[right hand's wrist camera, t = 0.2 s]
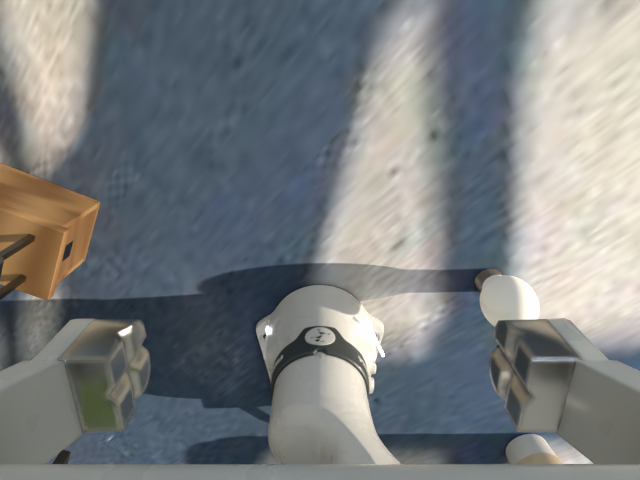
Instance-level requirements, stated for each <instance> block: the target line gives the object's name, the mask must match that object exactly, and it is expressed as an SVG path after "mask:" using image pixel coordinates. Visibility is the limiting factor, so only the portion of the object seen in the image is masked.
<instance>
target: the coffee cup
mask: <svg viewBox="0 0 640 480" xmlns="http://www.w3.org/2000/svg"><path fill="white" fill-rule="evenodd" d="M506 457H507V459H508V462H509V464H562V462H561V461H560V459H559V458H558V457H556V455H555V454H554V452H553V451H552V450H551V448H550V447H549V445H548V444H547V442H546V441H545V440H544V439H543V438H542V437H541V436H539V435H535V434H525V435H521V436H518V437H516V438H514V439H513V440H512V441H511V442H510V443H509V444H508V445H507V447H506Z"/></svg>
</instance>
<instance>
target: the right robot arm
mask: <svg viewBox="0 0 640 480" xmlns="http://www.w3.org/2000/svg"><path fill="white" fill-rule="evenodd" d="M256 333H257V337H258V340H259V344H260V347H261V350H262V354H263V357H264V361H265V364H266V368H267V371H268V374H269V378H270V384H271V397H272V406H271V413H270V420H269V428H268V442H269V447H270V450H271V452H272V455H273V457H274V458H275V460H276V462H277V463H278V464H46V463H47V462H48V461H50V460H51V459H52V458H53V457H55V456H56V455H57V454H59V453H60V452H61V451H62V450H64V449H65V448H66V447H67V446H69V445H70V444H71V443H72V442H74V441H75V440H76V439H77V438H79V437H80V436H81V435H82V433H83V432H118V431H124V429H125V427H126V425H127V423H128V421H129V419H130V418H131V416H132V414H133V412H134V410H135V403H134V400H135V399H136V398H138V397H139V396H141V395H142V394H143V393H144V391H145V389H146V387H147V385H148V382H149V377H150V373H151V360H150V354H149V352H148V351H147V350H146V349H145V348H144V347H143V346H142V345H141V344H142V342H143V341H144V339H145V338H146V331H145V327H144V323H143V322H142V321H141V320H136V319H95V318H91V319H73V320H70V321H69V322H68V323H67V324H66V325H65V326H64V327H63V328H62V329H61V330H60V331H59V332H58V333H57V334H56V335H55V336H54V337H53V338H52V339H51V340H50V341H49V342H48V343H47V344H46V346H45V347H44V348H43V349H42V350H41V351H40V352H39V353H38V354H37V355H36V356H35V357H34V358H33V359H32V360H28V361H21V362H19V363H17V364H15V365H13V366H10V367H8V368H6V369H4V370H2V371H0V480H640V371H638V370H636V369H634V368H632V367H630V366H627V365H625V364H623V363H621V362H619V361H613V360H608V359H607V358H606V357H605V356H604V355H603V354H602V353H601V352H600V351H599V350H598V349H597V347H596V346H595V345H594V344H593V343H592V342H591V341H590V340H589V339H588V338H587V337H586V336H585V335H584V334H583V333H582V332H581V331H580V330H579V329H578V328H577V327H576V326H575V325H574V324H573V323H572V322H571V321H570V320H568V319H565V318H558V319H529V320H498V322H497V324H496V326H495V331H494V338H495V339H496V341H497V342H498V344H499V345H498V346H497V347H496V348H495V349H494V350H493V351H492V352H491V354H490V362H489V370H490V378H491V382H492V385H493V387H494V389H495V391H496V393H497V394H498V395H499V396H501V397H502V398H504V399H505V400H506V403H505V410H506V412H507V414H508V416H509V418H510V419H511V421H512V423H513V425H514V427H515V429H516V430H517V431H521V432H557V433H558V435H559V436H560V437H562V438H563V439H564V440H565V441H567V442H568V443H569V444H570V445H572V446H573V447H574V448H575V449H577V450H578V451H579V452H580V453H582V454H583V455H584V456H585V457H587V458H588V459H589V460H590V461H592V462H593V463H594V464H401V463H400V462H399V461H398V460H397V459H396V458H395V457H394V456H393V455H392V454H391V453H390V452H389V451H388V449H387V448H386V447H385V446H384V444H383V443H382V442H381V440H380V439H379V437H378V435H377V433H376V431H375V428H374V425H373V421H372V417H371V413H370V409H369V404H368V397H369V394H371V393H373V390H374V378H372V377H371V374H375V372H376V364H374V363H375V360H376V357H377V353H378V350H379V351H380V353H381V355H382V357H384V353H383V351H382V348H381V346H380V343H381V340H382V336H383V333H384V325H383V323H382V322H381V321H380V320H378V319H377V318H375V317H373V316H371V315H370V314H368V313H367V311H366V310H365V309H364V307H363V306H362V305H361V303H360V302H359V301H358V300H357V299H356V298H355V297H354V296H352V295H351V294H350V293H348V292H346V291H344V290H342V289H340V288H337V287H333V286H328V285H312V286H307V287H303V288H300V289H298V290H296V291H294V292H292V293H290V294H289V295H287V296H286V297H285V298H284V299H283V300H282V301H281V302H280V303H279V304H278V306H277V307H276V309H275V310H274V311H273V312H272V313H271V314H270V315H268V316H266V317H265V318H263V319H262V320H260V321H259V322H258V323H257V325H256ZM264 334H266V336H264ZM375 335H376V336H375Z"/></svg>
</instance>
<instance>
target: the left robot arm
mask: <svg viewBox="0 0 640 480" xmlns="http://www.w3.org/2000/svg"><path fill="white" fill-rule="evenodd" d="M70 453H71V452H69V451H66V450H62V451H61V452H60V453H59V455H58V456H57V458H56V459H55V461H54V462H53V464H67V463H68V460H69V456H70Z"/></svg>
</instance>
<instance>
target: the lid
mask: <svg viewBox="0 0 640 480" xmlns="http://www.w3.org/2000/svg"><path fill="white" fill-rule="evenodd" d="M69 230H70V229H68V228H66V227H63V226H60V225H58V224H55V223H52V222H50V221H47V220H44V219H42V218H39V217H36V216H34V215H31V214H29V213H26V212H23V211H21V210H18V209H15V208H13V207H10V206H7V205H5V204H2V203H0V284H2V285H5V286H4V287H2V288H1V289H0V300H1V299H2V298H4V297H5V296H6V295H8V294H9V293H10V292H11V291H13V290H14V289H16V290H19V291H22V292H25V293H28V294H30V295H33V296H36V297H39V298H42V299H45V300H49V299H50V298H51V297H52V296H53V295H54V291H55V287H56V283H57V279H58V275H59V271H60V267H61V263H62V259H63V255H64V251H65V247H66V243H67V239H68V235H69Z"/></svg>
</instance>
